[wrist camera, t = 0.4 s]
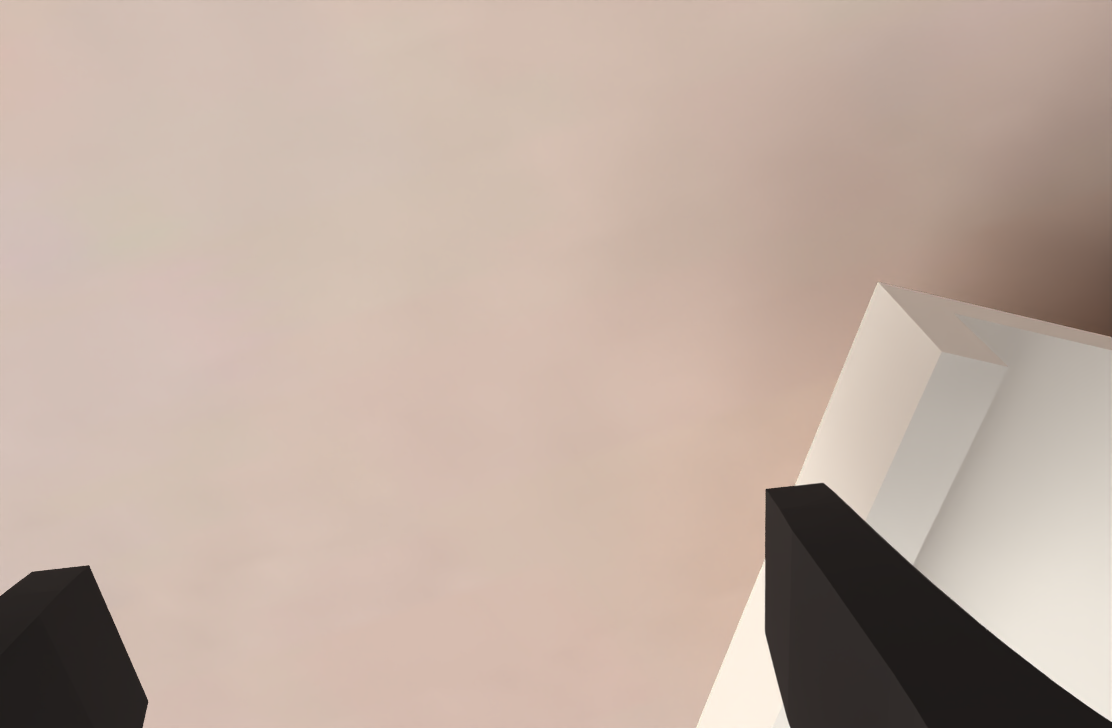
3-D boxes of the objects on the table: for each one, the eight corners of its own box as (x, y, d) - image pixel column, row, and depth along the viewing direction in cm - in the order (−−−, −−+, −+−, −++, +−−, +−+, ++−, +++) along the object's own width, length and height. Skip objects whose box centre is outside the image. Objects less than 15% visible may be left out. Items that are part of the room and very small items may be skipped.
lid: (1139, 870, 22) (1217, 996, 19) (670, 790, 21) (688, 912, 18) (1462, 420, 17) (1624, 509, 14) (877, 281, 16) (941, 351, 13)
